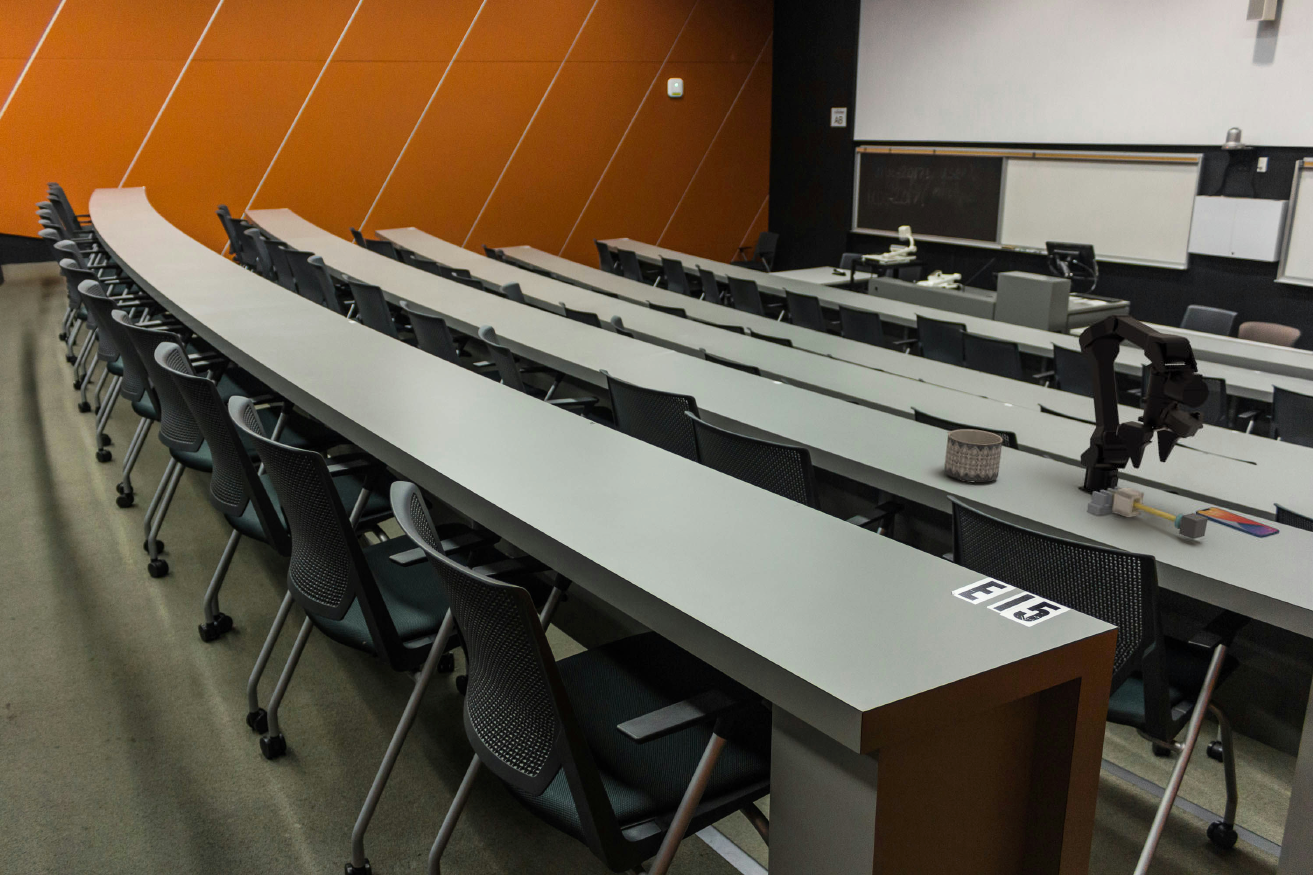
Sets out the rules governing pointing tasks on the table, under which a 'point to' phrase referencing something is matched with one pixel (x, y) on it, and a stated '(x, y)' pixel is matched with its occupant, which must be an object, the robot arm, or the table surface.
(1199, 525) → the dark grey cube
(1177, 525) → the teal puck
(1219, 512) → the smartphone
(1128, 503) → the sleeve
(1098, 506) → the comb
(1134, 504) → the rod
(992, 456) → the planter
